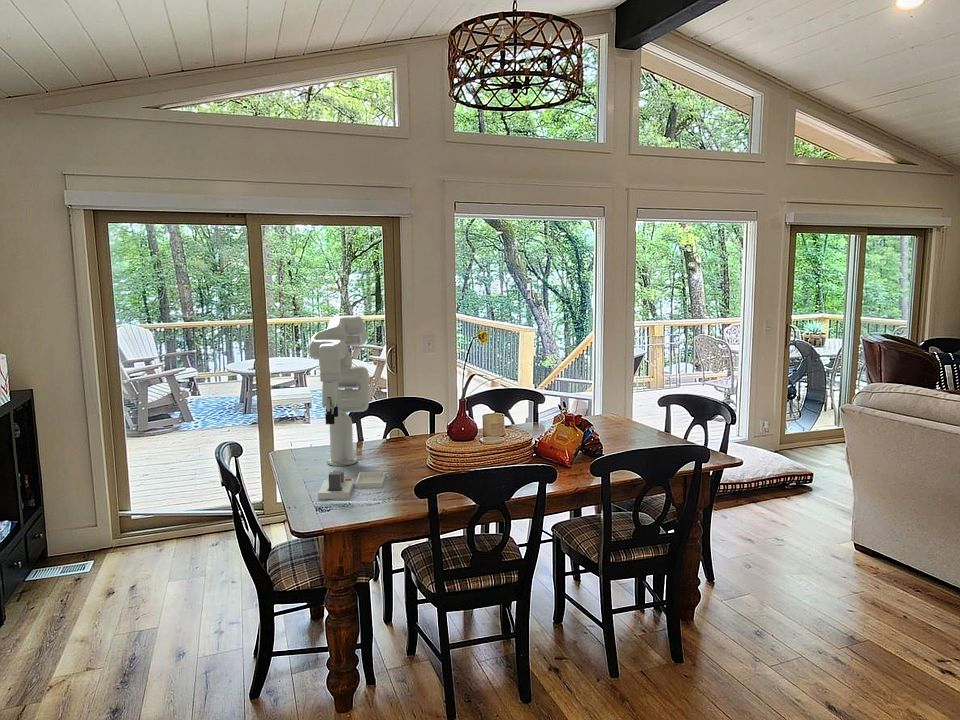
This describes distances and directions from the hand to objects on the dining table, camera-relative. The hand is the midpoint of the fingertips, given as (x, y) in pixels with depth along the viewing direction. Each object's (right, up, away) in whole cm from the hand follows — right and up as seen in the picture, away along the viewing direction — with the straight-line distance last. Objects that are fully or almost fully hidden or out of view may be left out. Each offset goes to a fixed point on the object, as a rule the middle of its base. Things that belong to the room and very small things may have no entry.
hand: (332, 420), depth 253 cm
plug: (+3, -27, -10) cm, 29 cm away
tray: (+14, -25, +5) cm, 29 cm away
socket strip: (+3, -27, -6) cm, 28 cm away
